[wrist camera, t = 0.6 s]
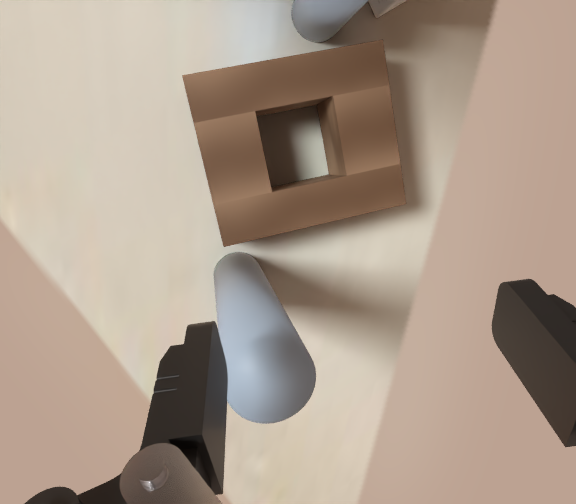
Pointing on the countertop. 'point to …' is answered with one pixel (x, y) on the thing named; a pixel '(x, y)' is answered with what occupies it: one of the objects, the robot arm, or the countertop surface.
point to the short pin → (322, 17)
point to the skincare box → (383, 6)
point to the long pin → (259, 344)
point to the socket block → (335, 131)
